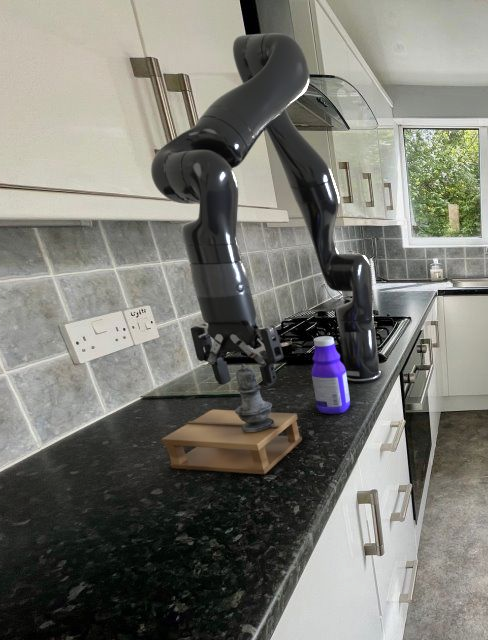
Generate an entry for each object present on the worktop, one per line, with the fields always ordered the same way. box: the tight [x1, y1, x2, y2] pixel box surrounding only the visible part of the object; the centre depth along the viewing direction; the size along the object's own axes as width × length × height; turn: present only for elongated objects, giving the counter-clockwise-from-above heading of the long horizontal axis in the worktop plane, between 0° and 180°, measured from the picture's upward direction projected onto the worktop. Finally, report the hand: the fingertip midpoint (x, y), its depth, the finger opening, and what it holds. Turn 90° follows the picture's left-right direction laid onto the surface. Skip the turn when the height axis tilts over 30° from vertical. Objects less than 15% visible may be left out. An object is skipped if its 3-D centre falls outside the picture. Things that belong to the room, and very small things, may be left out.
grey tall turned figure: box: [234, 363, 274, 432], centre depth 73 cm, size 6×6×12 cm
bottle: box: [310, 335, 351, 415], centre depth 92 cm, size 7×6×17 cm
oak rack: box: [160, 409, 303, 475], centre depth 77 cm, size 12×18×6 cm, turn 84°
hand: (247, 383), depth 72 cm, fingers open, 8 cm apart
